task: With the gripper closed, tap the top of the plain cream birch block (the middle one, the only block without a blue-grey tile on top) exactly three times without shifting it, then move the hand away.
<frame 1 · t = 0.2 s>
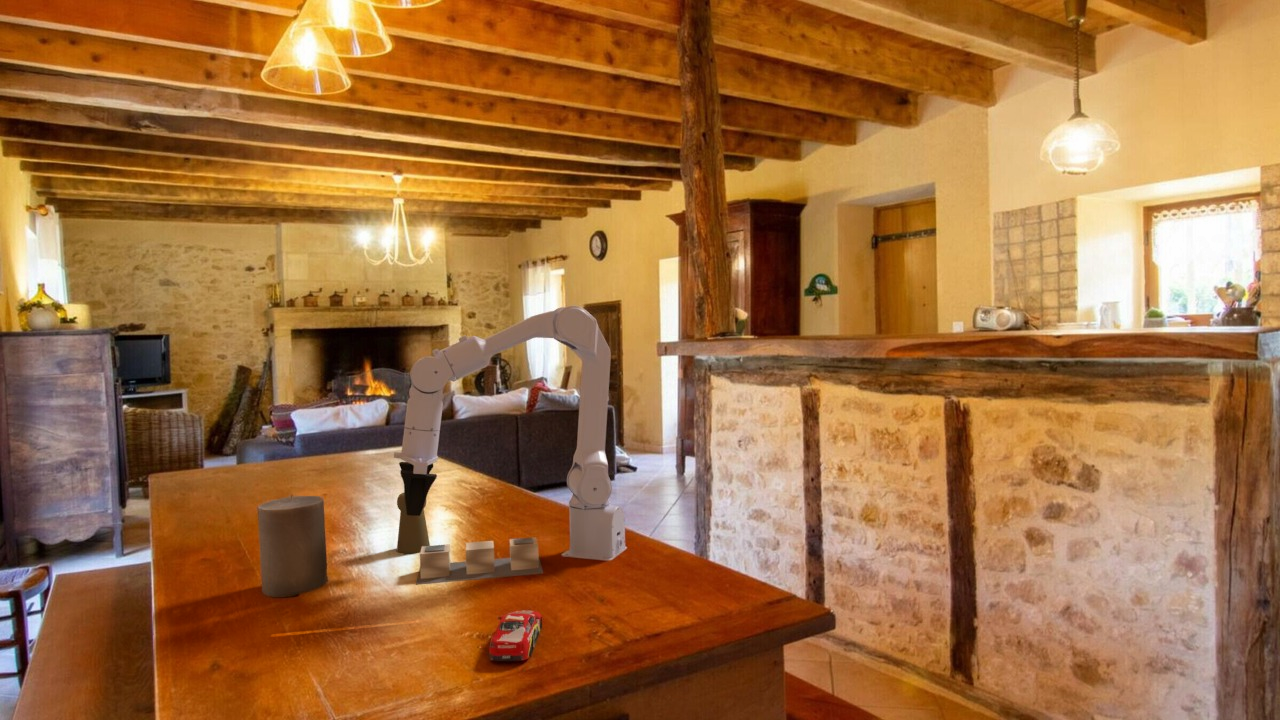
hand: (412, 509, 126), 11 cm above the table, tool pointing down, fingers open, 7 cm apart
marked block 1: (435, 573, 125), resting on mat
race car: (517, 646, 97), on the table
mat: (480, 571, 126), on the table
marked block 2: (524, 565, 128), resting on mat
pillar candle: (294, 588, 121), on the table
plain block: (480, 569, 126), resting on mat
cork: (413, 552, 139), on the table
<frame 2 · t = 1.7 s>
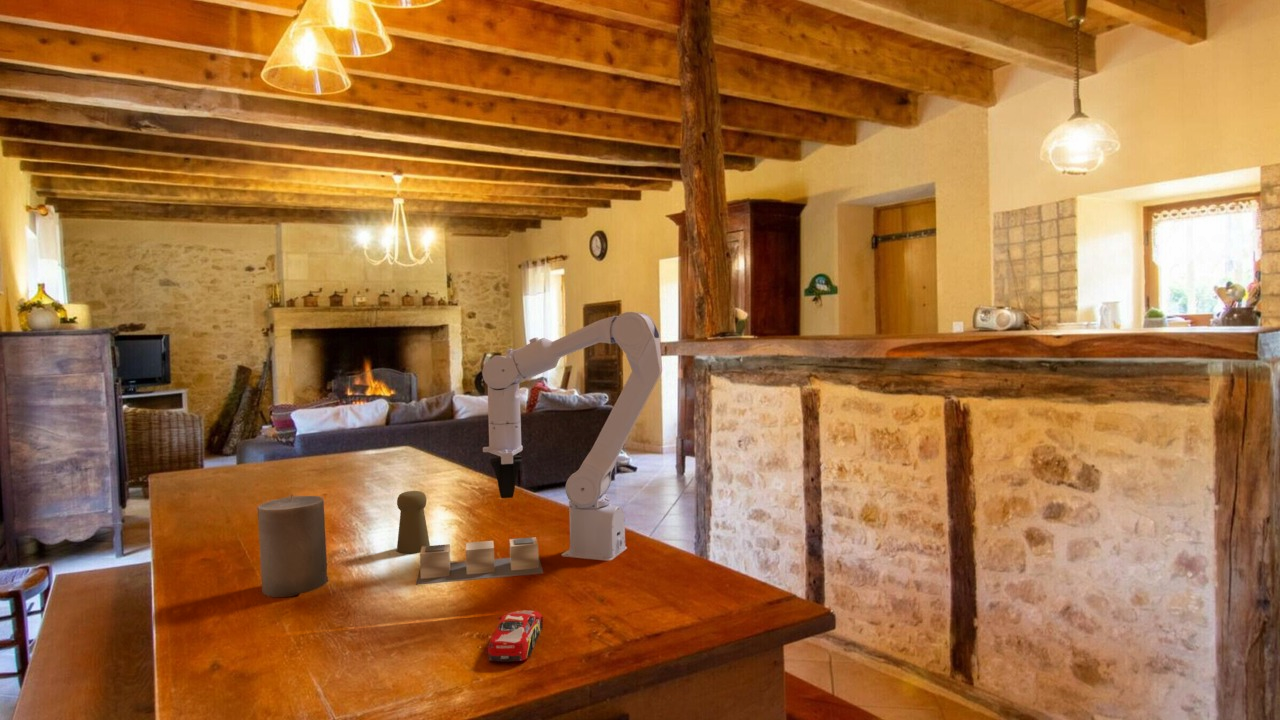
hand: (506, 497, 137), 10 cm above the table, tool pointing down, fingers closed
nothing on the table moved.
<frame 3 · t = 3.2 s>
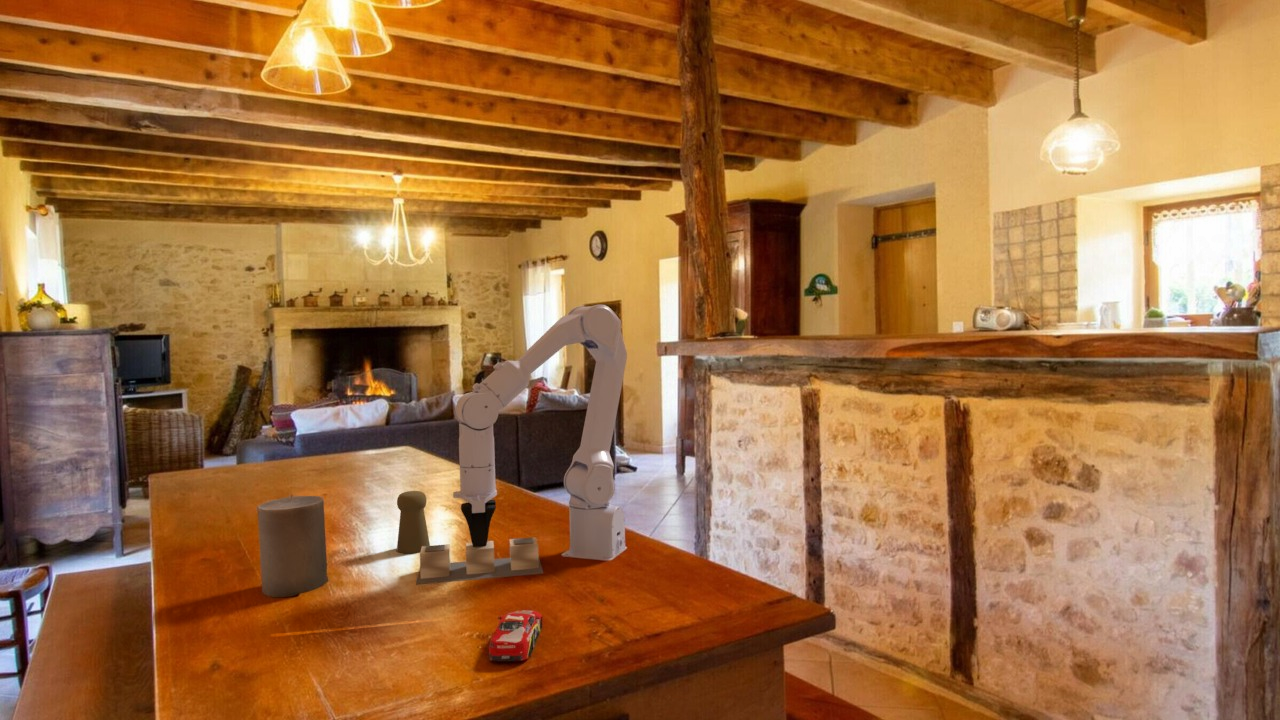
hand: (479, 546, 126), 4 cm above the table, tool pointing down, fingers closed, pressing on plain block
plain block: (480, 569, 126), resting on mat, touching gripper
everything else where it was.
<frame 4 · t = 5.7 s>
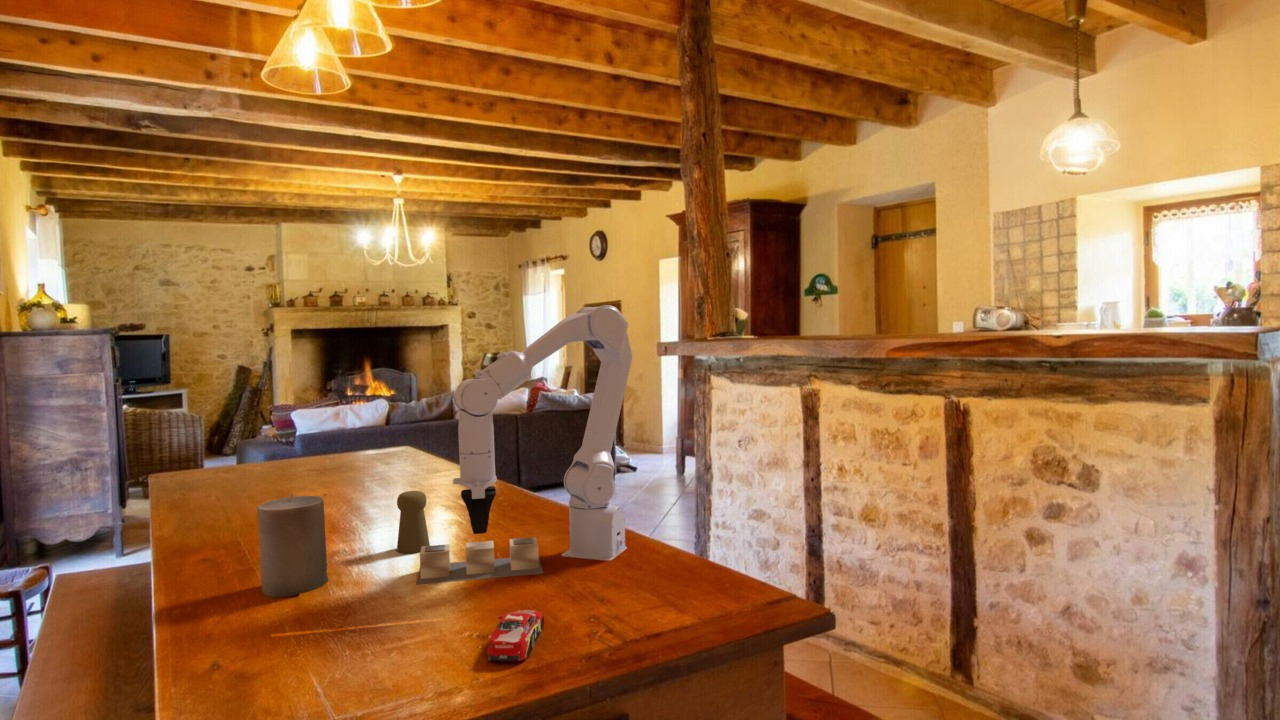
hand: (480, 532, 126), 7 cm above the table, tool pointing down, fingers closed
plain block: (480, 569, 126), resting on mat
everything else where it was.
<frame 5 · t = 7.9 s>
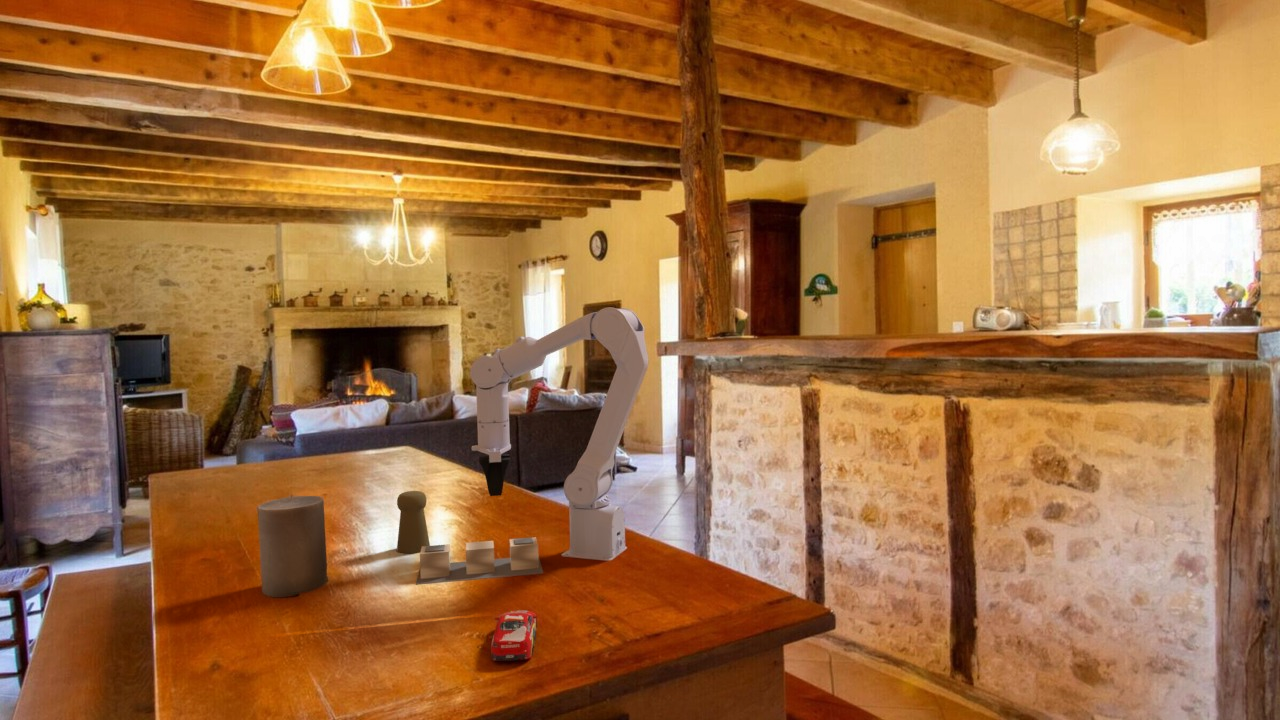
hand: (495, 495, 139), 10 cm above the table, tool pointing down, fingers closed
at the end: plain block moved 0.0 cm from its start; plain block tilted 0°; plain block touching mat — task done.
